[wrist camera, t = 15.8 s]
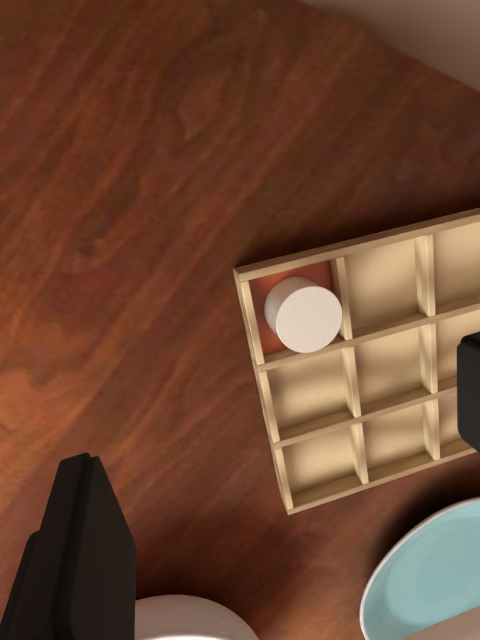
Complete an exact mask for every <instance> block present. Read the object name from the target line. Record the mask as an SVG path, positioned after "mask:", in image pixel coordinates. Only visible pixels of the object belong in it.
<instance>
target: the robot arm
mask: <svg viewBox="0 0 480 640" xmlns="http://www.w3.org/2000/svg"><path fill="white" fill-rule="evenodd" d="M457 428H458V432H459V434H460V436H461V438H462V439H463V440H464V441H465V442H466V443H467V444H469V445H470V446H471V447H472V448H474V449H475V450H476V451H477V452H479V453H480V331H479V332H476V333H473V334H469V335H466V336H464V337H463V338H462V339H461V341H460V344H458V346H457ZM135 592H136V549H135V543H134V540H133V537H132V535H131V532H130V530H129V527H128V525H127V523H126V520H125V518H124V515H123V513H122V511H121V508H120V506H119V503H118V501H117V498H116V496H115V494H114V491H113V489H112V486H111V484H110V482H109V479H108V477H107V474H106V472H105V469H104V467H103V465H102V462H101V460H100V458H99V457H98V456H95V457H92V458H91V456H90V455H89V454H88V453H83V454H80V455H77V456H73V457H70V458H67V459H64V460H62V461H61V462H60V464H59V467H58V470H57V473H56V477H55V480H54V484H53V487H52V490H51V494H50V497H49V500H48V504H47V507H46V510H45V514H44V517H43V520H42V524H41V527H40V530H39V531H36V532H34V533H33V534H32V535H31V536H30V537H29V539H28V541H27V544H26V547H25V550H24V553H23V556H22V559H21V562H20V565H19V569H18V572H17V575H16V578H15V581H14V584H13V587H12V590H11V593H10V596H9V599H8V602H7V606H6V609H5V612H4V615H3V618H2V621H1V624H0V640H135ZM399 640H480V606H478V607H475V608H473V609H470V610H468V611H466V612H463V613H461V614H458V615H456V616H454V617H451V618H449V619H446V620H444V621H442V622H439V623H437V624H434V625H432V626H430V627H427V628H425V629H423V630H420V631H418V632H415V633H413V634H411V635H408V636H406V637H403V638H401V639H399Z"/></svg>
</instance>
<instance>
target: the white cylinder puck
mask: <svg viewBox="0 0 480 640" xmlns="http://www.w3.org/2000/svg"><path fill="white" fill-rule="evenodd" d="M264 316H265V320H266V322H267V324H268V326H269V327H270V328H271V330H272V331H273V332H274V333H275V334H276V335H277V337H278V338H279V339H280V340H281V341H282V342H283V344H284V345H286V346H287V347H288V348H289V349H291V350H293V351H296V352H301V353H309V352H315V351H317V350H320V349H322V348H324V347H325V346H327V345H328V344H329V343H330V342H331V341H332V340H333V339H334V338H335V336H336V335H337V333H338V331H339V329H340V326H341V323H342V308H341V305H340V302H339V300H338V299H337V297H336V296H335V295H334V294H333V293H332V292H331V291H329V290H328V289H326V288H324V287H322V286H320V285H319V284H317V283H315V282H313V281H312V280H310V279H308V278H305V277H290V278H287V279H284V280H282V281H281V282H279V283H278V284H276V285H275V286H274V287H273V288H272V290H271V291H270V292H269V294H268V296H267V298H266V301H265V305H264Z"/></svg>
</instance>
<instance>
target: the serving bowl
mask: <svg viewBox="0 0 480 640" xmlns="http://www.w3.org/2000/svg"><path fill="white" fill-rule="evenodd" d="M135 640H259V639H258V637H257V636H256V635H255V633H254V632H253V630H252V629H251V628H250V627H249V626H248V624H247V623H246V622H245V621H244V620H242V619H241V618H240V617H239V616H238V615H237V614H235V613H234V612H233V611H231V610H229V609H228V608H226V607H224V606H222V605H220V604H218V603H216V602H213V601H211V600H208V599H204V598H200V597H195V596H188V595H162V596H154V597H148V598H144V599H140V600H136V601H135Z"/></svg>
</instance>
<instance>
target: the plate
mask: <svg viewBox="0 0 480 640" xmlns="http://www.w3.org/2000/svg"><path fill="white" fill-rule="evenodd" d="M478 606H480V497H476V498H471V499H467V500H464V501H460V502H457V503H455V504H452V505H450V506H447V507H445V508H443V509H441V510H439V511H437V512H435V513H434V514H432V515H430V516H429V517H427V518H426V519H424V520H423V521H422V522H420V523H419V524H417V525H416V526H415V527H413V528H412V529H411V530H410V531H409V532H408V533H406V534H405V535H404V536H403V537H402V538H401V539H400V540H399V541H398V542H397V543H396V544H395V545H394V546H393V547H392V548H391V549H390V550H389V551H388V553H387V554H386V555H385V556H384V558H383V559H382V560H381V561H380V563H379V564H378V565H377V567H376V568H375V570H374V572H373V573H372V575H371V577H370V579H369V581H368V583H367V585H366V587H365V590H364V593H363V596H362V600H361V604H360V625H361V629H362V632H363V635H364V637H365V639H366V640H399V639H401V638H403V637H406V636H408V635H411V634H413V633H415V632H418V631H420V630H423V629H425V628H427V627H430V626H432V625H434V624H437V623H439V622H442V621H444V620H446V619H449V618H451V617H454V616H456V615H458V614H461V613H463V612H466V611H468V610H470V609H473V608H475V607H478Z"/></svg>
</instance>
